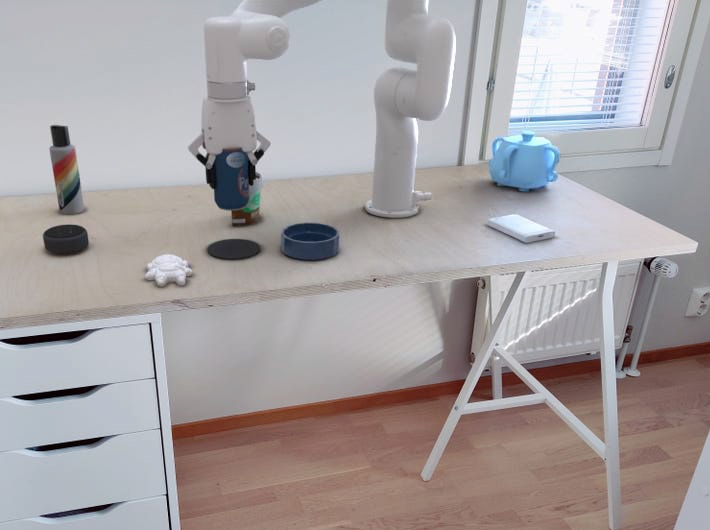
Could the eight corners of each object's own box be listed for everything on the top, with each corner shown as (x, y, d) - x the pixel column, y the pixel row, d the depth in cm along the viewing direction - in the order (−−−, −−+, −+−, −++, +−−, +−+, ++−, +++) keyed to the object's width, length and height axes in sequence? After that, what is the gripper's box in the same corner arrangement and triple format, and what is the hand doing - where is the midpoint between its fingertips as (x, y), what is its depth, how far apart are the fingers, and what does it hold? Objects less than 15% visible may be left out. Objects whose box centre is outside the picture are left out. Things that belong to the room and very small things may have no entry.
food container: (257, 230, 158) (256, 185, 153) (230, 228, 159) (228, 184, 154) (269, 212, 168) (269, 170, 163) (244, 210, 169) (243, 168, 164)
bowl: (327, 237, 154) (327, 220, 152) (346, 257, 144) (347, 238, 142) (274, 243, 151) (274, 225, 149) (291, 264, 141) (291, 245, 139)
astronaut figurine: (144, 288, 131) (142, 273, 129) (148, 263, 141) (146, 249, 140) (192, 286, 132) (191, 271, 130) (192, 261, 142) (191, 247, 140)
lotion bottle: (54, 213, 168) (39, 126, 158) (69, 206, 172) (56, 121, 162) (74, 216, 166) (61, 128, 156) (89, 208, 171) (76, 123, 161)
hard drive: (487, 218, 159) (526, 236, 150) (516, 213, 163) (555, 230, 153) (486, 226, 160) (525, 243, 151) (515, 220, 163) (554, 237, 154)
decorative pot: (490, 192, 182) (498, 138, 175) (485, 174, 196) (492, 124, 189) (556, 195, 180) (566, 141, 173) (546, 177, 193) (556, 126, 186)
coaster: (252, 238, 153) (252, 236, 153) (266, 256, 144) (266, 254, 144) (202, 243, 151) (202, 241, 150) (213, 262, 142) (213, 260, 141)
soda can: (249, 211, 140) (248, 149, 134) (214, 212, 140) (211, 150, 134) (249, 200, 146) (247, 141, 140) (215, 201, 146) (212, 141, 139)
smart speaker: (68, 259, 143) (64, 241, 141) (36, 251, 147) (32, 233, 145) (98, 245, 150) (95, 227, 148) (67, 238, 153) (64, 220, 151)
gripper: (267, 85, 137) (268, 176, 146) (177, 89, 133) (184, 184, 142) (278, 91, 131) (278, 187, 140) (184, 96, 126) (191, 194, 135)
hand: (231, 184), depth 141 cm, fingers closed on soda can, 7 cm apart
